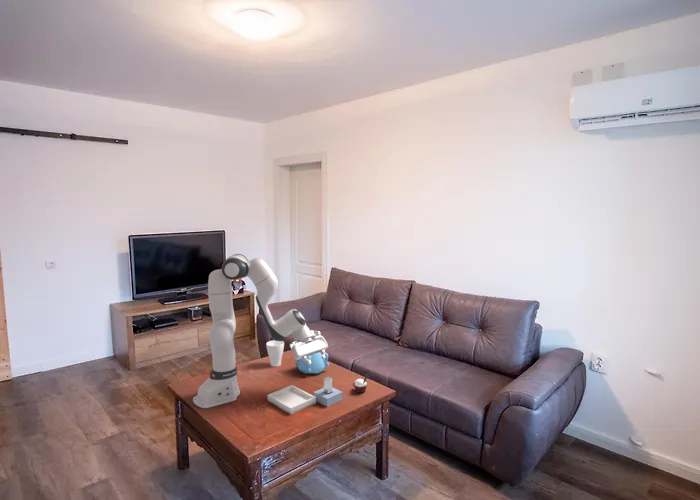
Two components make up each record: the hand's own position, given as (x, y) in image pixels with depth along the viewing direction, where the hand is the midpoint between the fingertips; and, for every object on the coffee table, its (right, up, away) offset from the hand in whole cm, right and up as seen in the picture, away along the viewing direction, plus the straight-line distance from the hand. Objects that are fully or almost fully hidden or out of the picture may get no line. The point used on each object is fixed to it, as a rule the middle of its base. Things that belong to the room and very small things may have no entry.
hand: (317, 361), depth 203 cm
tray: (-12, -18, -6) cm, 22 cm away
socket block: (+6, -18, -4) cm, 19 cm away
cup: (-28, -13, +40) cm, 50 cm away
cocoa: (+22, -17, +5) cm, 28 cm away
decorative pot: (-6, -14, +31) cm, 35 cm away
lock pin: (+6, -18, -4) cm, 19 cm away
